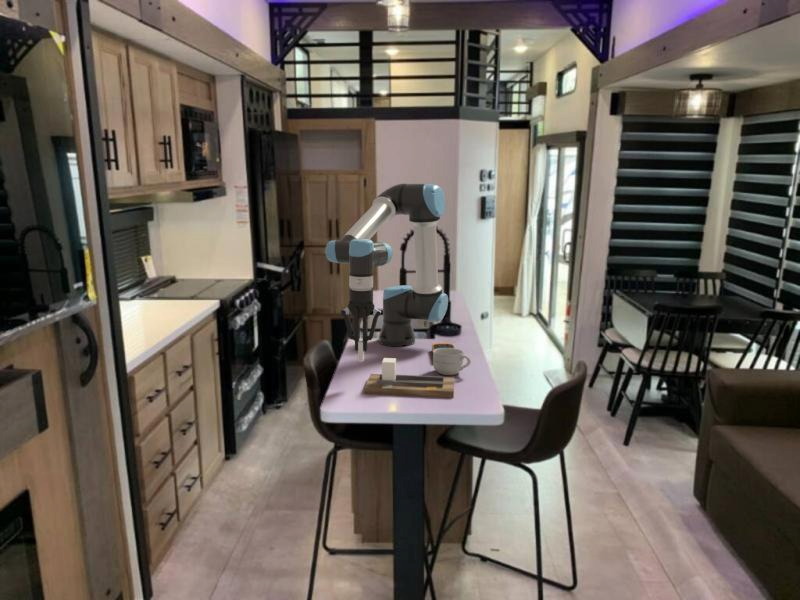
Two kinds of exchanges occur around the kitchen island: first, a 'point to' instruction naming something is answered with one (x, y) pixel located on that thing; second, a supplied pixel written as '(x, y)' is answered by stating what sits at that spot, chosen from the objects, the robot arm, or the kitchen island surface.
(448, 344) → the multimeter
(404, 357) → the kitchen island surface
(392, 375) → the switch knob
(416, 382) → the wooden slider track
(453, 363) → the teacup
